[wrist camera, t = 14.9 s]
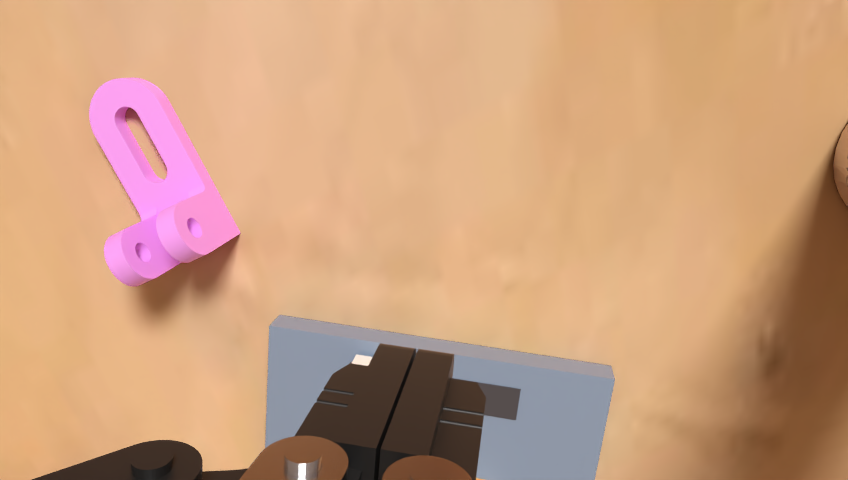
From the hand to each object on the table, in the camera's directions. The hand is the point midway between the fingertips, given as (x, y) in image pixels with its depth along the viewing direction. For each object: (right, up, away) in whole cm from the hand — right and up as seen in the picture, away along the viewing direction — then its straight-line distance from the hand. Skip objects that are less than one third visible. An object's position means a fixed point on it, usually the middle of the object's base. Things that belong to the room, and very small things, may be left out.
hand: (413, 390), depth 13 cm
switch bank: (+1, -12, +36) cm, 38 cm away
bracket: (-18, +8, +34) cm, 39 cm away
